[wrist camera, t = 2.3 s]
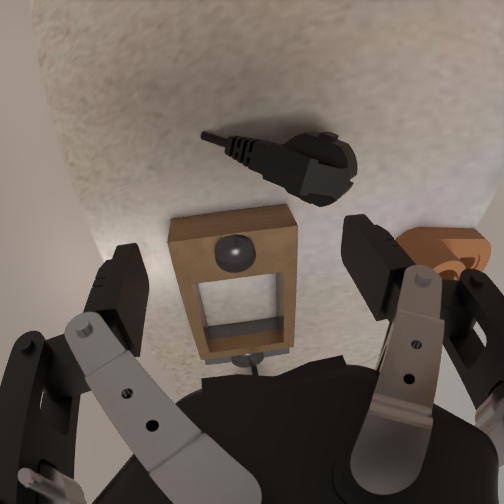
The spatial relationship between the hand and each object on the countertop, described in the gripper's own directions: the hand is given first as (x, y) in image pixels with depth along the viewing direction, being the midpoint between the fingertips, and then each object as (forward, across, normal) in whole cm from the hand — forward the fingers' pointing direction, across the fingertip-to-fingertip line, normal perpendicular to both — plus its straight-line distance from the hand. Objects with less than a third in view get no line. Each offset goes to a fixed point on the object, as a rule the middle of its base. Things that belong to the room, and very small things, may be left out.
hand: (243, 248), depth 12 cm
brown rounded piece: (+17, -26, +16) cm, 35 cm away
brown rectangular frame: (+16, 0, +17) cm, 23 cm away
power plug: (+18, 0, 0) cm, 18 cm away
